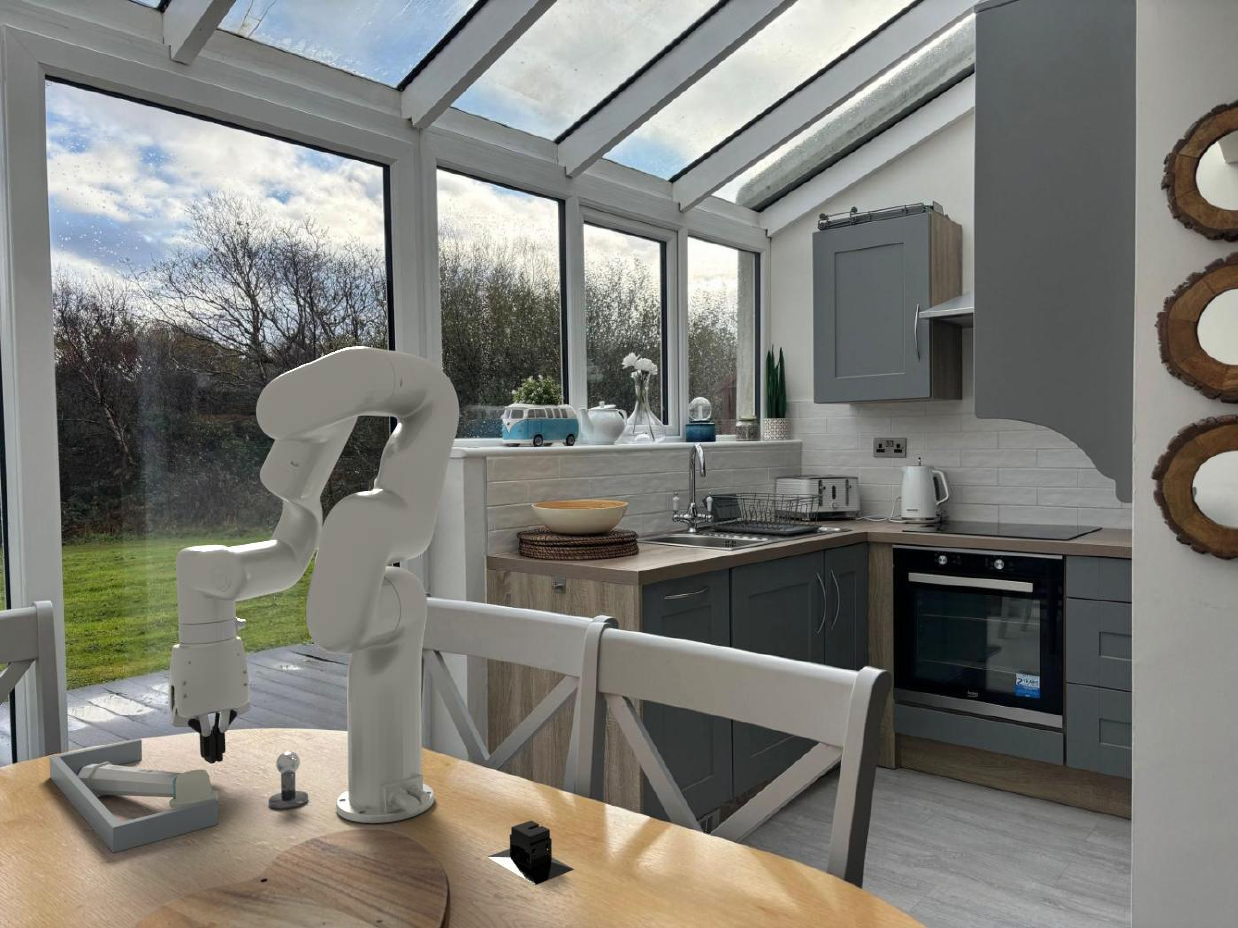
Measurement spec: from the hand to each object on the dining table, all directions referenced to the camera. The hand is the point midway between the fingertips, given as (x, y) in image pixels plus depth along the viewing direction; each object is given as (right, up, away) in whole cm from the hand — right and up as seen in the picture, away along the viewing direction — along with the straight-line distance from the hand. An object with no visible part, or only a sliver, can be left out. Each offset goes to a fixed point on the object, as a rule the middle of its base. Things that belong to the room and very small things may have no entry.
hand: (213, 760), depth 132 cm
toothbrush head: (-5, -4, -9) cm, 11 cm away
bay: (-9, -3, -7) cm, 11 cm away
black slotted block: (+48, -4, -26) cm, 55 cm away
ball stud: (+14, -3, -8) cm, 16 cm away
